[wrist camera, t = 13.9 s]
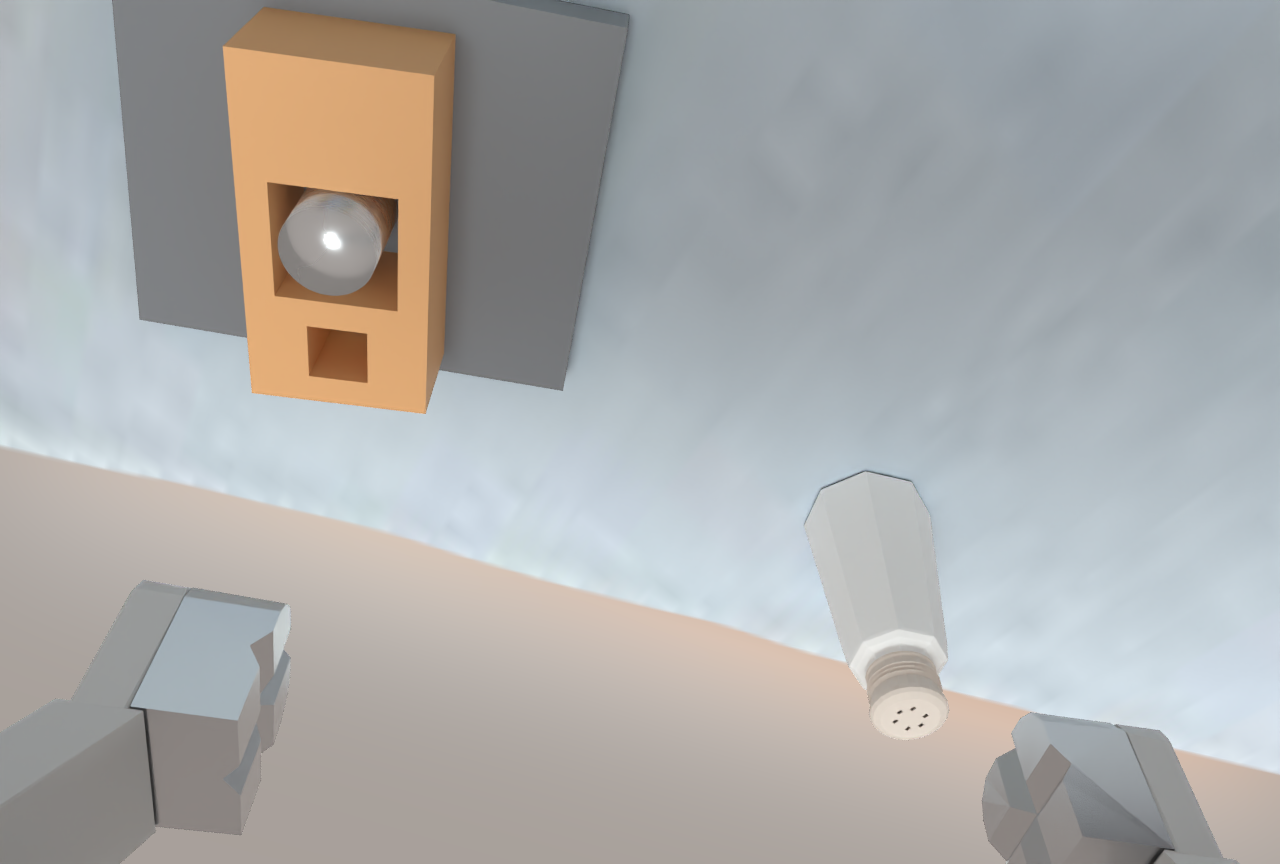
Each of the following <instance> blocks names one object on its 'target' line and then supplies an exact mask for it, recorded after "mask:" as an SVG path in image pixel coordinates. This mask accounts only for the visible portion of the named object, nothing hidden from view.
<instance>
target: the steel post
mask: <svg viewBox="0 0 1280 864" xmlns="http://www.w3.org/2000/svg"><path fill="white" fill-rule="evenodd" d="M397 219H398V199H392V198H384V197H377V196H369V195H361V194H354V193H346V192H339V191H331V190H324V189H316V188H309V187H307V188H306V190H305V192H304V193H303V195H302V196H301V198H300V199H299V201H298V203H297V204H296V206H295V207H294V209H293V210H292V212H291V214H290V215H289V217H288V218H287V220H286V221H285V223H284V225H283V226H282V228H281V230H280V232H279V236H278V252H279V256H280V259H281V262H282V264H283V266H284V267H285V269H286V270H287V272H288V273H289V274H290V275H291V277H292V278H294V279H295V280H296V281H297V282H298V283H299V284H301V285H302V286H304V287H305V288H307V289H309V290H311V291H314V292H316V293H319V294H324V295H330V296H340V295H346V294H350V293H353V292H355V291H357V290H359V289H360V288H362V287H363V286H364V285H365V284H366V283H367V282H368V281H369V280H370V278H371V276H372V274H373V272H374V270H375V268H376V266H377V263H378V261H379V259H380V257H381V255H382V252H383V250H384V248H385V246H386V244H387V241H388V239H389V237H390V235H391V233H392V230H393V228H394V226H395V224H396V221H397Z"/></svg>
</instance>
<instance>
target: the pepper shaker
mask: <svg viewBox="0 0 1280 864" xmlns="http://www.w3.org/2000/svg"><path fill="white" fill-rule="evenodd" d="M804 528H805V531H806V534H807V537H808V540H809V544H810V547H811V550H812V553H813V556H814V560H815V563H816V566H817V569H818V573H819V576H820V579H821V582H822V585H823V589H824V592H825V595H826V598H827V602H828V605H829V608H830V611H831V614H832V618H833V621H834V624H835V627H836V630H837V634H838V637H839V640H840V643H841V647H842V650H843V653H844V655H845V658H846V661H847V663H848V666H849V668H850V669H851V671H852V672H853V674H854V675H855V677H856V678H857V680H858V681H859V683H860V684H861V686H862V687H863V688H864V689H866V690H867V695H868V700H869V704H870V709H869V716H870V720H871V723H872V725H873V726H874V727H875V729H877V730H878V731H879V732H881V733H882V734H883V735H886V736H888V737H891V738H895V739H900V740H911V739H918V738H921V737H925V736H928V735H930V734H931V733H933V732H935V731H936V730H938V729H939V728H940V727H941V726H942V725H943V723H944V722H945V720H946V719H947V717H948V713H949V706H948V702H947V699H946V698H945V696H944V694H943V693H942V685H941V682H940V679H939V676H938V675H939V673H940V672H941V670H942V669H943V667H944V665H945V664H946V662H947V661H948V652H947V640H946V633H945V625H944V618H943V610H942V602H941V595H940V587H939V579H938V572H937V564H936V556H935V549H934V541H933V534H932V526H931V518H930V514H929V512H928V511H927V509H926V507H925V505H924V503H923V501H922V500H921V498H920V496H919V494H918V492H917V491H916V489H915V487H914V485H913V483H912V482H910V481H905V480H901V479H897V478H892V477H888V476H884V475H879V474H875V473H871V472H866V471H865V472H862V473H860V474H858V475H855V476H853V477H850V478H848V479H845V480H843V481H841V482H838V483H836V484H833V485H831V486H828V487H826V488H824V489H822V490H821V491H820V493H819V495H818V497H817V499H816V501H815V504H814V506H813V508H812V510H811V512H810V514H809V516H808V518H807V521H806V523H805V525H804Z"/></svg>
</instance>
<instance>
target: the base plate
mask: <svg viewBox="0 0 1280 864" xmlns="http://www.w3.org/2000/svg"><path fill="white" fill-rule="evenodd" d="M112 4H113V15H114V27H115V39H116V50H117V62H118V74H119V85H120V97H121V108H122V120H123V132H124V143H125V155H126V167H127V178H128V190H129V201H130V213H131V225H132V236H133V248H134V260H135V271H136V283H137V294H138V306H139V318H140V320H145V321H151V322H157V323H163V324H169V325H175V326H181V327H187V328H193V329H199V330H205V331H210V332H216V333H222V334H228V335H234V336H240V337H246V338H247V328H246V316H245V304H244V293H243V281H242V269H241V257H240V245H239V233H238V222H237V210H236V198H235V186H234V174H233V162H232V151H231V139H230V127H229V115H228V103H227V92H226V80H225V68H224V56H223V45H224V44H225V43H227V42H228V41H229V40H230V39H231V38H232V37H233V36H234V35H235V34H236V33H237V32H238V31H239V30H240V29H241V28H242V27H243V26H244V25H245V24H246V23H248V22H249V21H250V20H251V19H252V18H253V17H254V16H255V15H256V14H257V13H258V12H259V11H260V10H261V9H262V8H263V7H268V8H275V9H282V10H289V11H296V12H303V13H310V14H317V15H324V16H332V17H339V18H346V19H353V20H360V21H367V22H374V23H381V24H388V25H395V26H402V27H409V28H416V29H423V30H430V31H437V32H444V33H451V34H456V40H455V67H454V94H453V121H452V149H451V176H450V203H449V230H448V257H447V285H446V312H445V339H444V355H443V358H442V361H441V365H440V368H439V370H442V371H448V372H454V373H460V374H466V375H472V376H478V377H484V378H490V379H496V380H502V381H508V382H514V383H520V384H526V385H532V386H538V387H544V388H550V389H555V390H561V391H563V387H564V381H565V376H566V370H567V365H568V359H569V353H570V348H571V342H572V337H573V331H574V326H575V320H576V315H577V309H578V303H579V298H580V292H581V287H582V281H583V276H584V270H585V265H586V259H587V253H588V248H589V242H590V237H591V231H592V226H593V220H594V214H595V209H596V203H597V198H598V192H599V187H600V181H601V176H602V170H603V164H604V159H605V153H606V148H607V142H608V137H609V131H610V126H611V120H612V114H613V109H614V103H615V98H616V92H617V87H618V81H619V75H620V70H621V64H622V59H623V53H624V48H625V42H626V37H627V31H628V23H629V14H624V13H619V12H614V11H609V10H604V9H599V8H594V7H589V6H584V5H579V4H574V3H569V2H564V1H559V0H112ZM306 188H307V187H304V192H305V190H306ZM383 251H387V252H395V253H398V219H397V221H396V224H395V226H394V228H393V230H392V233H391V235H390V237H389V239H388V241H387V244H386V246H385V248H384V250H383Z"/></svg>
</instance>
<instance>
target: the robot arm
mask: <svg viewBox="0 0 1280 864" xmlns="http://www.w3.org/2000/svg"><path fill="white" fill-rule="evenodd" d="M290 614H291V612H290V606H289V605H288V604H284V603H279V602H273V601H267V600H261V599H255V598H250V597H244V596H239V595H232V594H227V593H221V592H215V591H209V590H204V589H198V588H188V587H182V586H176V585H170V584H164V583H158V582H152V581H146V580H143V581H142V582H141V583H140V584H138V585H137V586H136V588H134V589H133V590H132V591H131V593H130V594H129V596H128V598H127V600H126V602H125V603H124V605H123V607H122V609H121V611H120V612H119V614H118V616H117V618H116V620H115V621H114V623H113V625H112V627H111V629H110V631H109V632H108V634H107V636H106V637H105V639H104V641H103V643H102V645H101V646H100V648H99V650H98V652H97V654H96V655H95V657H94V659H93V661H92V663H91V664H90V666H89V668H88V670H87V672H86V673H85V675H84V677H83V679H82V681H81V682H80V684H79V686H78V688H77V690H76V691H75V693H74V695H73V697H72V698H71V700H63V699H54V700H52V701H51V702H49V703H47V704H46V705H44V706H43V707H41V708H39V709H38V710H36V711H34V712H33V713H31V714H29V715H28V716H26V717H25V718H23V719H21V720H20V721H18V722H16V723H15V724H13V725H11V726H10V727H8V728H7V729H5V730H3V731H2V732H0V864H120V863H121V862H122V861H123V860H124V859H126V858H127V857H128V856H129V855H130V854H131V853H132V852H134V851H135V850H136V849H137V848H138V847H139V846H140V845H141V844H142V843H144V842H145V841H146V840H147V839H148V838H149V837H150V836H151V835H153V834H154V833H155V831H156V830H155V827H164V828H174V829H184V830H194V831H204V832H214V833H225V834H234V835H241V834H242V832H243V829H244V826H245V823H246V820H247V818H248V815H249V812H250V809H251V806H252V804H253V801H254V798H255V795H256V793H257V790H258V787H259V784H260V781H261V753H263V752H264V751H265V750H267V749H268V748H269V747H271V746H272V745H273V744H274V742H275V739H276V736H277V732H278V730H279V727H280V724H281V720H282V716H283V712H284V708H285V703H286V699H287V695H288V688H289V679H290V662H291V658H290V656H289V655H288V654H287V653H286V652H285V651H284V646H285V643H286V640H287V638H288V635H289V632H290V630H291V615H290ZM1011 734H1012V737H1013V741H1014V744H1015V747H1016V748H1015V749H1013V750H1011V751H1009V752H1007V753H1005V754H1003V755H1002V756H1000V757H998V758H996V760H995V762H994V763H993V765H992V767H991V769H990V771H989V773H988V775H987V777H986V780H985V786H984V792H983V798H982V807H983V821H984V825H985V829H986V833H987V837H988V841H989V842H990V843H991V845H992V846H993V847H994V848H995V849H996V850H997V851H998V852H999V853H1000V854H1001V855H1002V857H1003V858H1004V859H1005V860H1006V863H1005V864H1240V863H1238V861H1236V860H1232V859H1226V858H1223V856H1222V854H1221V852H1220V850H1219V848H1218V846H1217V843H1216V841H1215V839H1214V837H1213V834H1212V832H1211V830H1210V828H1209V826H1208V824H1207V821H1206V819H1205V818H1204V815H1203V813H1202V810H1201V808H1200V806H1199V804H1198V802H1197V800H1196V798H1195V795H1194V793H1193V791H1192V789H1191V786H1190V784H1189V782H1188V780H1187V778H1186V776H1185V773H1184V771H1183V769H1182V767H1181V765H1180V762H1179V760H1178V758H1177V756H1176V754H1175V752H1174V749H1173V747H1172V745H1171V743H1170V741H1169V739H1168V738H1167V737H1166V736H1165V735H1164V734H1163V733H1162V732H1161V731H1160V730H1153V729H1146V728H1139V727H1132V726H1125V725H1118V724H1116V725H1113V724H1110V723H1106V722H1098V721H1091V720H1083V719H1076V718H1069V717H1061V716H1054V715H1047V714H1039V713H1032V712H1030V713H1029V714H1027V715H1025V716H1024V717H1022V718H1020V720H1019V721H1018V723H1017V725H1016V726H1015V728H1014V730H1013V731H1012V733H1011Z"/></svg>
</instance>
